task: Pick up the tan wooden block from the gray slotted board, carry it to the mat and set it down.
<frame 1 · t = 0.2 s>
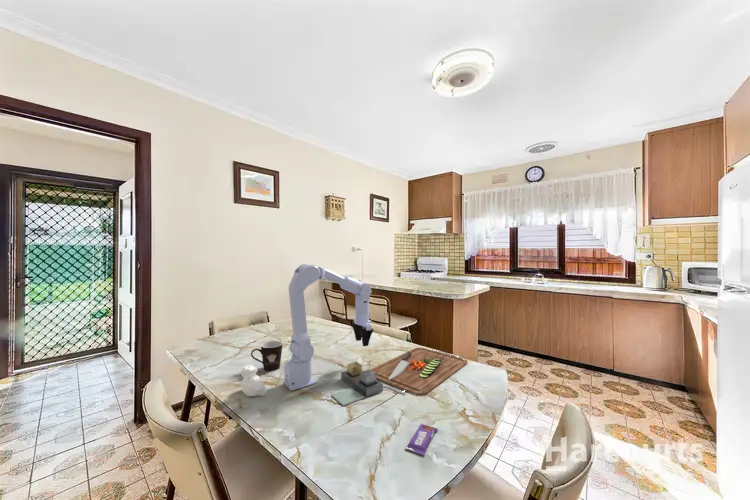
hand: (361, 343, 119), 10 cm above the table, fingers open, 7 cm apart
steel nut: (368, 389, 99), resting in gray slotted board
bust: (252, 394, 96), on the table
tan wooden block: (354, 380, 107), resting in gray slotted board
coffee mug: (268, 368, 118), on the table
gray slotted board: (361, 384, 103), on the table
snack package: (422, 442, 73), on the table
mat: (347, 396, 94), on the table
chopping board: (419, 369, 118), on the table
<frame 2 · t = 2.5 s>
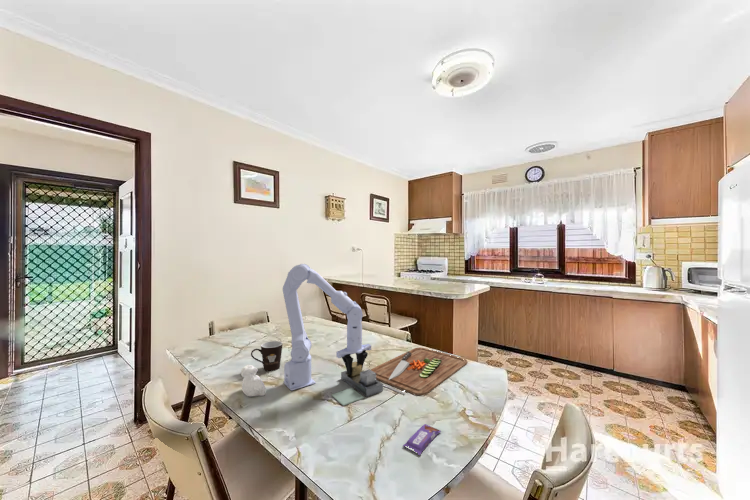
hand: (354, 372, 107), 3 cm above the table, fingers closed on tan wooden block, 4 cm apart
tan wooden block: (354, 380, 107), resting in gray slotted board, touching gripper
everything else where it was.
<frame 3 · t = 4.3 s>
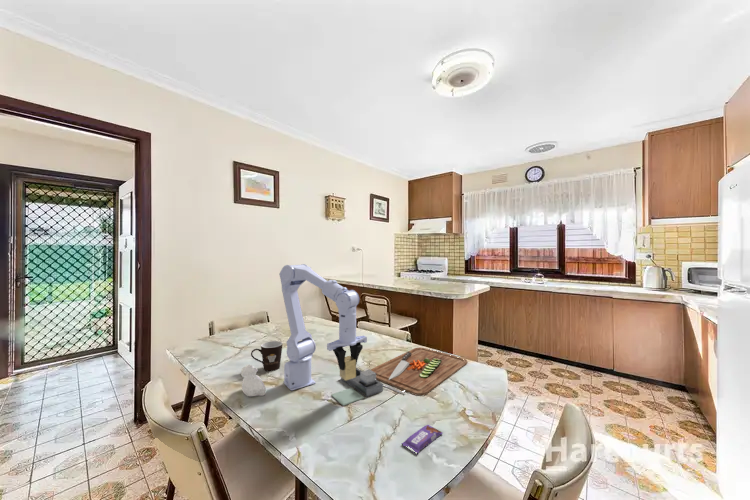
hand: (347, 367, 94), 10 cm above the table, fingers closed on tan wooden block, 4 cm apart
tan wooden block: (347, 376, 94), point 7 cm above the table, touching gripper
when the fingers open (4 cm above the table, at t = 6.1 s): tan wooden block stays where it is, resting on mat.
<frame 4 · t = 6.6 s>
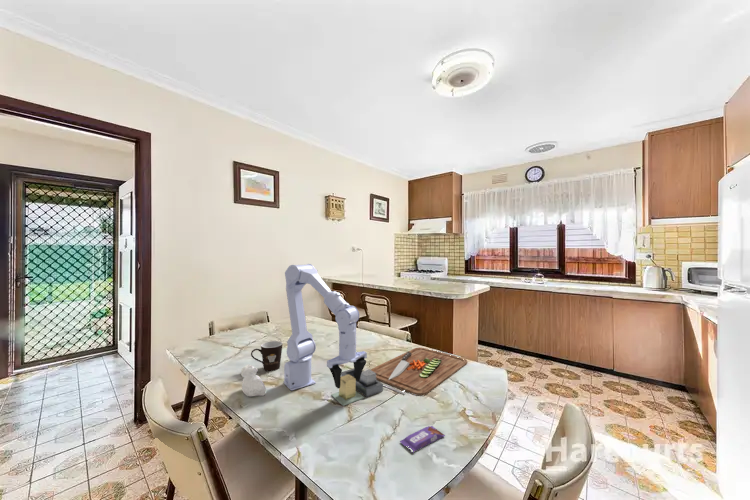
hand: (347, 383, 94), 4 cm above the table, fingers open, 7 cm apart
tan wooden block: (347, 395, 94), resting on mat
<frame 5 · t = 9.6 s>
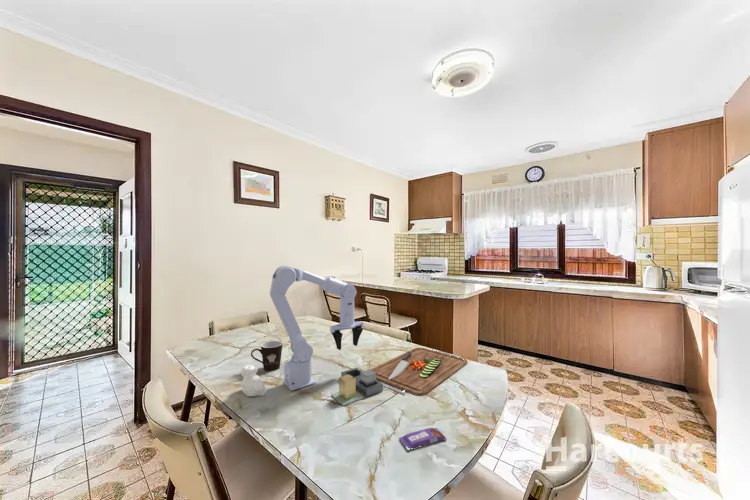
hand: (347, 347, 113), 10 cm above the table, fingers open, 7 cm apart
at the end: tan wooden block inside the target area on the mat (0.1 cm from its centre), point 0.4 cm above the mat's base; tan wooden block tilted 0°; the gripper is holding nothing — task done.
